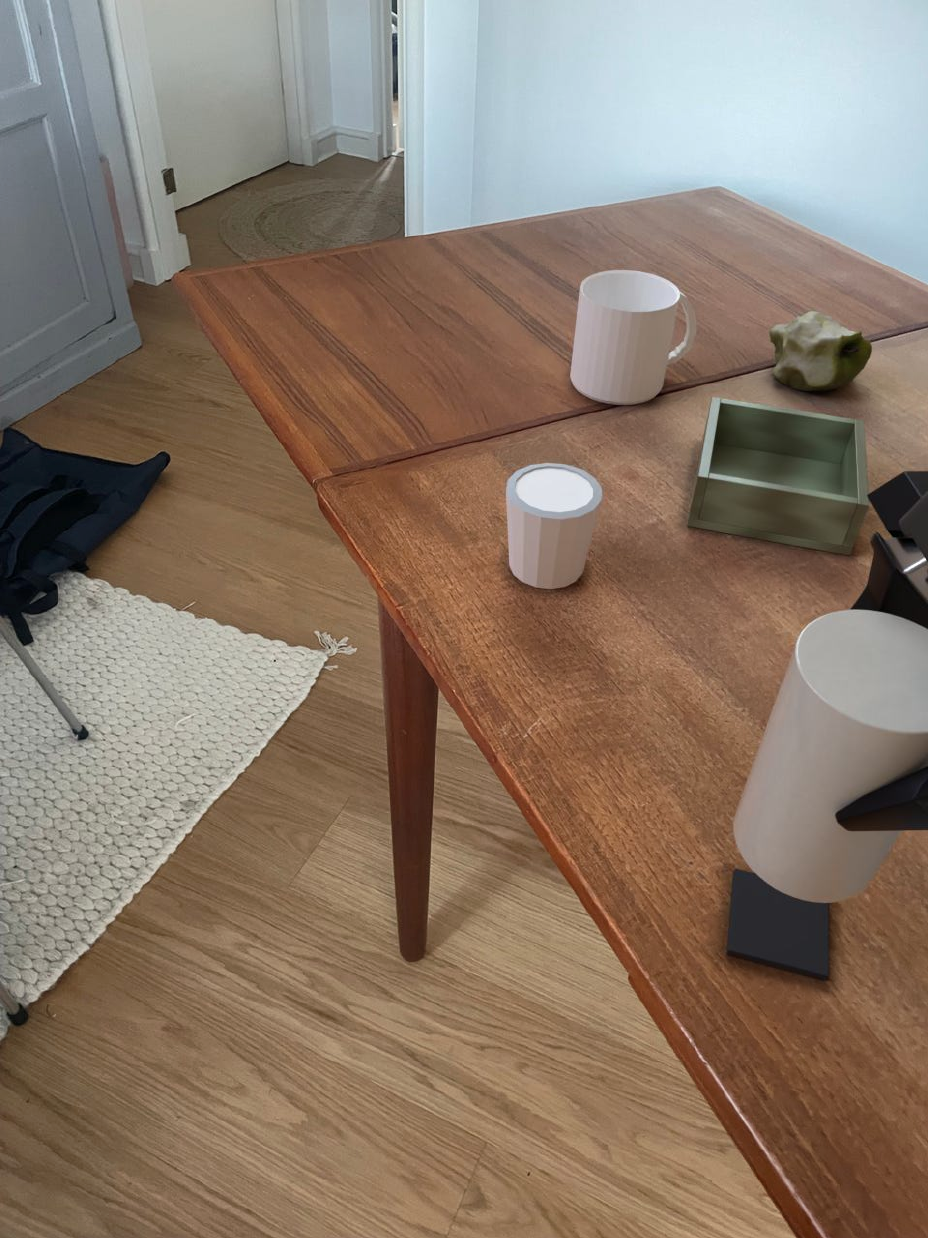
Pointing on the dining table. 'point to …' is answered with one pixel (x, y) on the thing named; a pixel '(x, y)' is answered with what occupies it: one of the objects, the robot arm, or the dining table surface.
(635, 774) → the dining table surface
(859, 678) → the white cylinder
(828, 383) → the fruit
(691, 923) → the dining table surface
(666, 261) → the dining table surface
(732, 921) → the coaster
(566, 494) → the faceted white cup
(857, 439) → the wooden box
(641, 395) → the mug
